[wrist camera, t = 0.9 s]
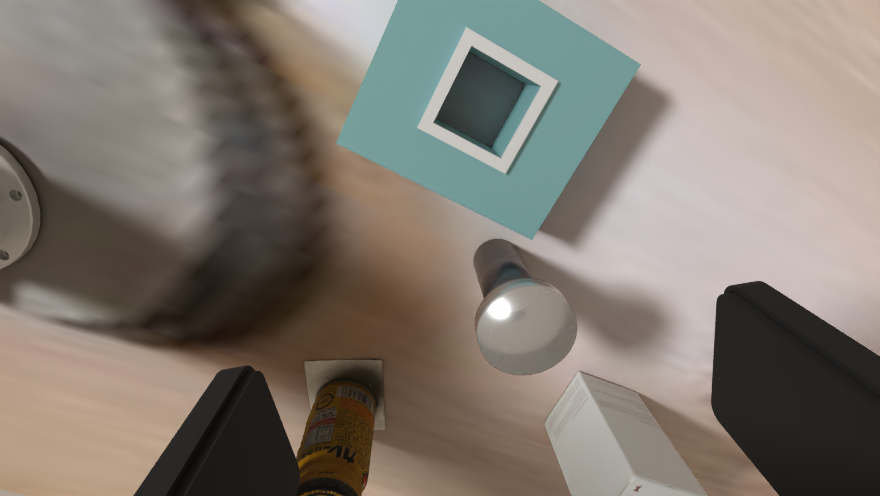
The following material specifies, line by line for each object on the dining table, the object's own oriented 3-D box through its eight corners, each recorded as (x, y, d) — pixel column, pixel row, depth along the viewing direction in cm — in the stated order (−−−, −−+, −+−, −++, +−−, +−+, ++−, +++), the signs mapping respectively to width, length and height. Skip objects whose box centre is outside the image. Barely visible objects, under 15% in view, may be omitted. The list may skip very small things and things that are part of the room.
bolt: (508, 303, 42) (543, 388, 31) (446, 275, 41) (459, 353, 30) (545, 244, 40) (596, 313, 29) (482, 213, 39) (510, 272, 28)
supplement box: (541, 423, 47) (583, 540, 36) (578, 368, 45) (636, 474, 33) (600, 444, 49) (660, 563, 37) (639, 392, 47) (715, 501, 35)
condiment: (313, 430, 46) (281, 546, 35) (304, 360, 43) (266, 462, 32) (385, 428, 47) (377, 541, 36) (382, 358, 44) (371, 458, 32)
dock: (519, 221, 39) (533, 241, 35) (345, 134, 36) (335, 144, 31) (613, 64, 35) (642, 64, 30) (426, -51, 32) (428, -71, 27)
